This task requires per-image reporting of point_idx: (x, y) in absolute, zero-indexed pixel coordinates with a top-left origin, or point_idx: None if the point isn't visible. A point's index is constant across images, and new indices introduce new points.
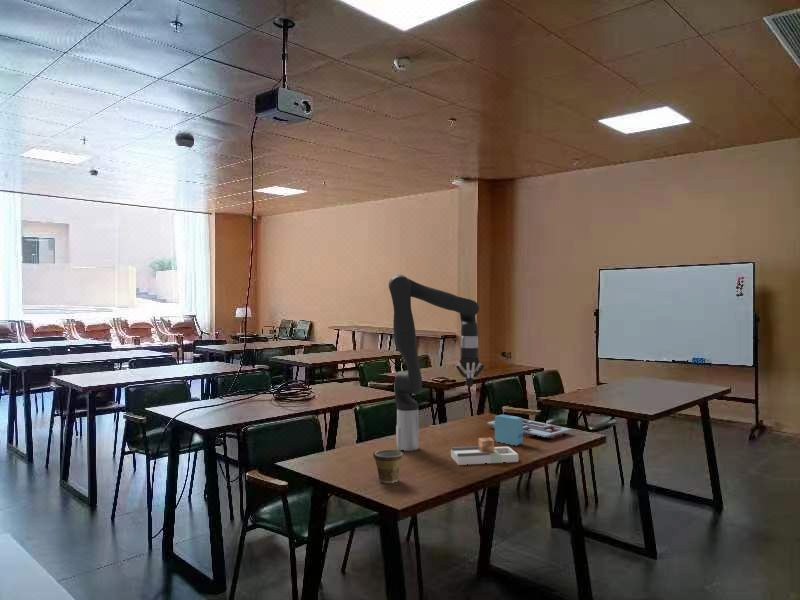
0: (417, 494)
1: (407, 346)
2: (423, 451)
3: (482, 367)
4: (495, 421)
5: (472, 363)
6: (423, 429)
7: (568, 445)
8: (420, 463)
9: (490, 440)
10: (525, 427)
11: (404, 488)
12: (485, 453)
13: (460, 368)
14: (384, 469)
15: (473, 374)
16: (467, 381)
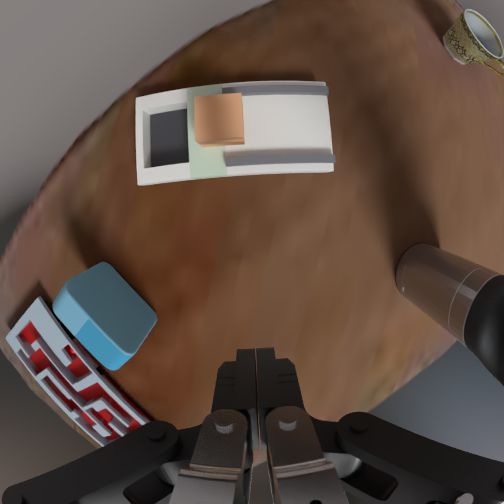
0: None
1: None
2: (390, 238)
3: (28, 493)
4: (136, 345)
5: None
6: None
7: (15, 253)
8: (410, 128)
9: (207, 99)
10: (78, 381)
11: (426, 8)
12: (236, 87)
13: (460, 489)
14: (471, 28)
15: (198, 450)
16: (289, 387)
